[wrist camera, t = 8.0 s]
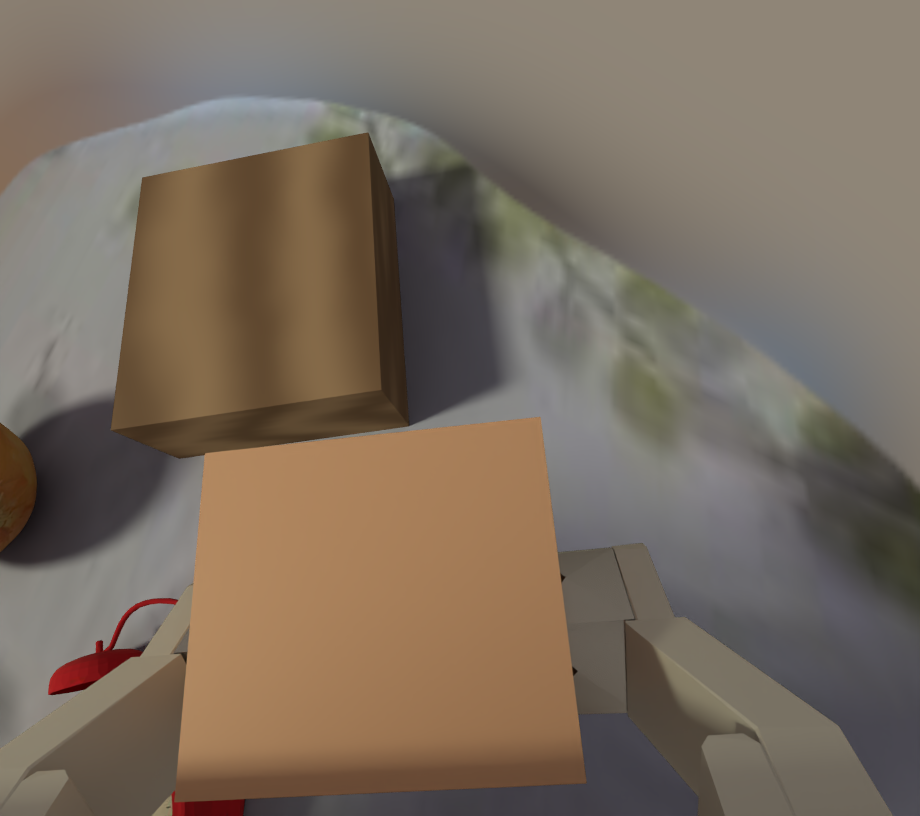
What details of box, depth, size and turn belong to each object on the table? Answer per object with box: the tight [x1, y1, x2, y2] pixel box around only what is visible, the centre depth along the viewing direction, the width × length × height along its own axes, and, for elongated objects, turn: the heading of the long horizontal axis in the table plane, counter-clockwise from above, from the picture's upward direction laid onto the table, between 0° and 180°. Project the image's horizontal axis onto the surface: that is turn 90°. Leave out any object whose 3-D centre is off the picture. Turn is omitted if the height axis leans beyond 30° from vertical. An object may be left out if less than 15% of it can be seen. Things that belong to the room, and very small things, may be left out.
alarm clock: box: [48, 598, 245, 816], centre depth 27 cm, size 10×6×15 cm
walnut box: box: [111, 133, 409, 459], centre depth 33 cm, size 14×16×6 cm
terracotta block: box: [174, 417, 587, 802], centre depth 11 cm, size 4×4×8 cm
